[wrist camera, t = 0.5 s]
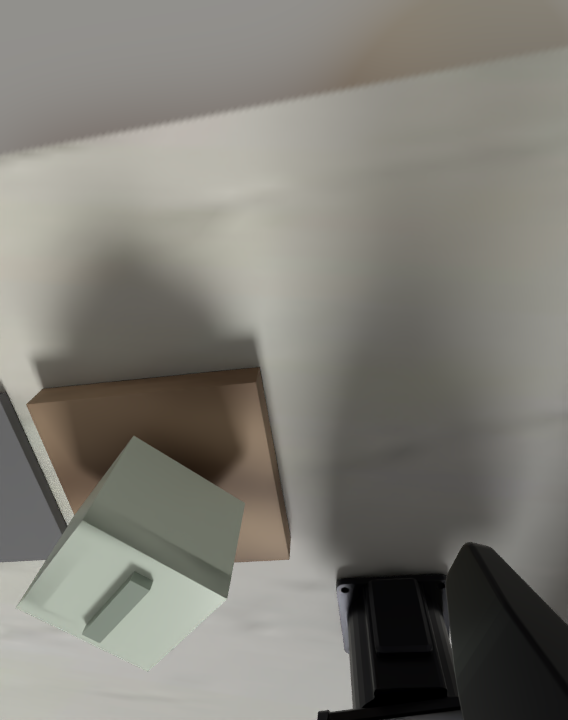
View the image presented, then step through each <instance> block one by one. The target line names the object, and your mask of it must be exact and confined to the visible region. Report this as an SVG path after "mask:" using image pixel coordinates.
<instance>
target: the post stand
mask: <svg viewBox="0 0 568 720" xmlns="http://www.w3.org/2000/svg"><path fill="white" fill-rule="evenodd" d="M26 405H27V408H28V410H29V412H30V414H31V417H32V419H33V421H34V424H35V426H36V428H37V430H38V433H39V435H40V437H41V440H42V442H43V444H44V446H45V449H46V451H47V453H48V456H49V458H50V460H51V462H52V465H53V467H54V469H55V471H56V474H57V476H58V478H59V481H60V483H61V485H62V487H63V490H64V492H65V494H66V497H67V499H68V501H69V503H70V506H71V508H72V510H73V513H74V515H75V514H76V512H77V511H78V510H79V508H80V507H81V506H82V504H83V503H84V502H85V500H86V499H87V498H88V496H89V495H90V494H91V492H92V491H93V490H94V488H95V487H96V486H97V484H98V483H99V481H100V480H101V479H102V477H103V476H104V475H105V473H106V472H107V471H108V469H109V468H110V467H111V465H112V464H113V463H114V461H115V460H116V459H117V457H118V456H119V455H120V453H121V452H122V451H123V449H124V448H125V447H126V445H127V444H128V442H129V441H130V440H131V438H132V437H133V436H135V437H137V438H139V439H140V440H142V441H144V442H145V443H147V444H148V445H150V446H152V447H153V448H155V449H157V450H158V451H160V452H162V453H163V454H165V455H167V456H168V457H170V458H172V459H173V460H175V461H176V462H178V463H180V464H181V465H183V466H185V467H186V468H188V469H190V470H191V471H193V472H195V473H196V474H198V475H200V476H201V477H203V478H205V479H206V480H208V481H209V482H211V483H213V484H214V485H216V486H218V487H219V488H221V489H223V490H224V491H226V492H228V493H229V494H231V495H233V496H234V497H236V498H238V499H239V500H241V501H242V502H244V503H245V507H244V512H243V517H242V523H241V528H240V533H239V538H238V544H237V549H236V554H235V560H234V562H252V561H272V560H289V557H290V541H291V537H290V532H289V526H288V521H287V515H286V510H285V504H284V499H283V493H282V488H281V482H280V477H279V471H278V466H277V460H276V455H275V449H274V444H273V438H272V433H271V427H270V422H269V416H268V411H267V406H266V400H265V395H264V389H263V384H262V378H261V373H260V367H256V368H246V369H236V370H226V371H216V372H206V373H196V374H186V375H176V376H166V377H156V378H146V379H136V380H126V381H116V382H106V383H96V384H86V385H76V386H66V387H56V388H46V389H42V390H41V391H40V392H39V393H38V394H37V395H36V396H35V397H34V398H33V399H31V400H30V401H29V402H28V403H27V404H26Z"/></svg>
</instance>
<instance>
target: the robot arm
mask: <svg viewBox="0 0 568 720" xmlns="http://www.w3.org/2000/svg"><path fill="white" fill-rule="evenodd" d="M336 590H337V598H338V605H339V613H340V620H341V628H342V635H343V642H344V650H345V652H347V653H349V656H350V671H351V686H352V702H353V709H350V710H342V711H335V712H330V711H329V710H326V711H319V712H318V719H317V720H568V625H567V624H566V623H565V622H564V621H563V620H562V619H561V618H560V617H559V616H558V615H557V614H556V613H555V612H554V611H553V610H552V609H551V608H550V607H549V606H548V605H547V604H546V603H545V602H544V601H543V600H542V599H541V598H540V597H539V596H538V595H537V594H536V593H535V592H534V591H533V589H532V588H531V587H530V586H529V585H528V584H527V583H526V582H525V581H524V580H523V579H522V578H521V577H520V576H519V575H518V574H517V573H516V572H515V571H514V570H513V569H512V568H511V567H510V566H509V565H508V564H507V563H506V562H505V561H504V560H503V559H502V558H501V557H500V556H499V555H498V554H497V553H496V552H495V551H494V550H493V549H492V548H491V547H489V546H486V545H481V544H477V543H472V542H467V543H465V544H464V545H463V546H462V548H461V550H460V551H459V553H458V555H457V557H456V559H455V561H454V563H453V564H452V566H451V568H450V570H449V572H448V574H447V576H446V575H443V574H429V575H407V576H386V577H364V578H344V579H340V580H338V581H337V583H336ZM449 626H450V634H451V643H452V648H451V644H450V640H449Z"/></svg>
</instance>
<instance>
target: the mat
mask: <svg viewBox="0 0 568 720" xmlns="http://www.w3.org/2000/svg"><path fill="white" fill-rule="evenodd" d="M66 528H67V526H66V524H65V521H64V519H63V517H62V515H61V513H60V510H59V508H58V506H57V504H56V502H55V499H54V497H53V495H52V493H51V490H50V488H49V486H48V484H47V482H46V479H45V477H44V475H43V473H42V471H41V468H40V466H39V464H38V462H37V460H36V457H35V455H34V453H33V451H32V449H31V446H30V444H29V442H28V440H27V438H26V435H25V433H24V431H23V429H22V427H21V424H20V422H19V420H18V418H17V416H16V413H15V411H14V409H13V407H12V405H11V402H10V400H9V398H8V396H7V393H0V562H14V561H33V560H46V559H47V558H48V556H49V555H50V553H51V552H52V550H53V548H54V547H55V545H56V544H57V542H58V541H59V539H60V537H61V536H62V534H63V533H64V531H65V529H66Z"/></svg>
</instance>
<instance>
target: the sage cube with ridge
mask: <svg viewBox="0 0 568 720" xmlns="http://www.w3.org/2000/svg"><path fill="white" fill-rule="evenodd" d="M244 507H245V503H244V502H242V501H241V500H239V499H238V498H236V497H234V496H233V495H231V494H229V493H228V492H226V491H224V490H223V489H221V488H219V487H218V486H216V485H214V484H213V483H211V482H209V481H208V480H206V479H205V478H203V477H201V476H200V475H198V474H196V473H195V472H193V471H191V470H190V469H188V468H186V467H185V466H183V465H181V464H180V463H178V462H176V461H175V460H173V459H172V458H170V457H168V456H167V455H165V454H163V453H162V452H160V451H158V450H157V449H155V448H153V447H152V446H150V445H148V444H147V443H145V442H144V441H142V440H140V439H139V438H137V437H135V436H133V437H132V438H131V440H130V441H129V442H128V444H127V445H126V447H125V448H124V449H123V451H122V452H121V453H120V455H119V456H118V457H117V459H116V460H115V461H114V463H113V464H112V465H111V467H110V468H109V469H108V471H107V472H106V473H105V475H104V476H103V477H102V479H101V480H100V481H99V483H98V484H97V486H96V487H95V488H94V490H93V491H92V492H91V494H90V495H89V496H88V498H87V499H86V500H85V502H84V503H83V504H82V506H81V507H80V508H79V510H78V511H77V512H76V514H75V515H74V517H73V518H72V520H71V522H70V523H69V525H68V526H67V528H66V529H65V531H64V533H63V534H62V536H61V537H60V539H59V541H58V542H57V544H56V545H55V547H54V548H53V550H52V552H51V553H50V555H49V556H48V558H47V559H46V561H45V563H44V564H43V566H42V567H41V569H40V571H39V572H38V574H37V575H36V577H35V578H34V580H33V582H32V583H31V585H30V586H29V588H28V590H27V591H26V593H25V594H24V596H23V597H22V599H21V601H20V602H19V604H18V605H17V607H16V608H17V609H19V610H21V611H23V612H25V613H27V614H29V615H31V616H33V617H35V618H37V619H39V620H41V621H43V622H46V623H48V624H50V625H52V626H54V627H56V628H58V629H60V630H62V631H64V632H66V633H68V634H70V635H73V636H75V637H77V638H79V639H81V640H83V641H85V642H87V643H89V644H91V645H93V646H95V647H97V648H99V649H102V650H104V651H106V652H108V653H110V654H112V655H114V656H116V657H118V658H120V659H122V660H124V661H126V662H128V663H131V664H133V665H135V666H137V667H139V668H141V669H143V670H145V671H147V672H148V671H149V670H150V669H151V668H153V667H154V666H155V665H156V664H157V663H158V662H159V661H160V660H161V659H162V658H163V657H165V656H166V655H167V654H168V653H169V652H170V651H171V650H172V649H173V648H174V647H175V646H177V645H178V644H179V643H180V642H181V641H182V640H183V639H184V638H185V637H186V636H187V635H188V634H190V633H191V632H192V631H193V630H194V629H195V628H196V627H197V626H198V625H199V624H200V623H202V622H203V621H204V620H205V619H206V618H207V617H208V616H209V615H210V614H211V613H212V612H214V611H215V610H216V609H217V608H218V607H219V606H220V605H221V604H222V603H223V602H224V601H225V600H227V596H228V591H229V586H230V581H231V575H232V570H233V565H234V560H235V554H236V549H237V544H238V538H239V533H240V528H241V523H242V517H243V512H244Z"/></svg>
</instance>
